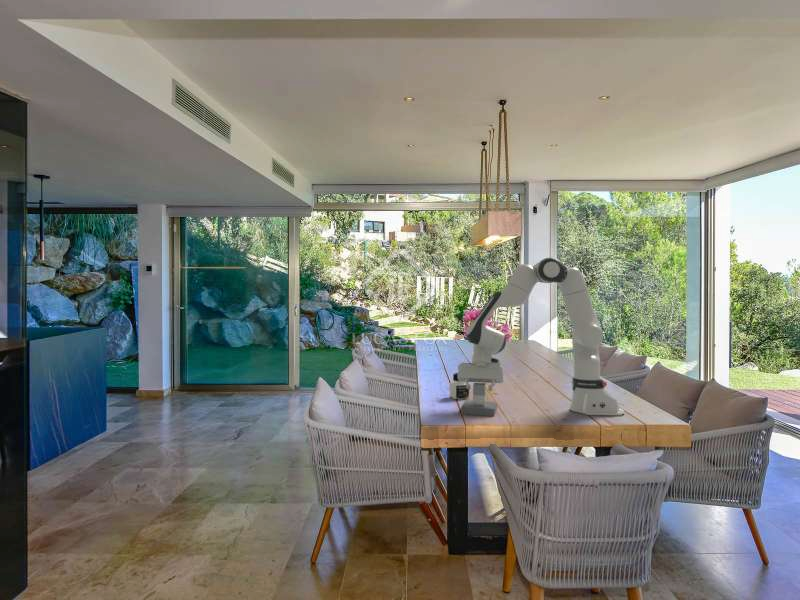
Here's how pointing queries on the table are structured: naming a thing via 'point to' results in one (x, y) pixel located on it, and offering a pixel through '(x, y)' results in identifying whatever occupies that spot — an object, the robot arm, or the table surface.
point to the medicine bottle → (458, 389)
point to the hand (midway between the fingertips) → (479, 389)
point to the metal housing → (479, 394)
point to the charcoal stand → (479, 408)
